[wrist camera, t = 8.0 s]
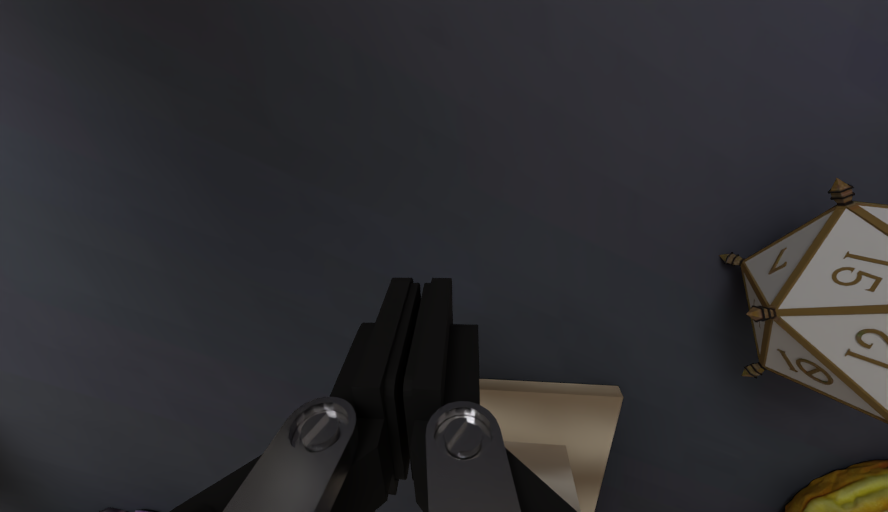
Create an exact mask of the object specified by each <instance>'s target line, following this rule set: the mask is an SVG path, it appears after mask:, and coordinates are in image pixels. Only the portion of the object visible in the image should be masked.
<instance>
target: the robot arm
mask: <svg viewBox="0 0 888 512" xmlns="http://www.w3.org/2000/svg"><path fill="white" fill-rule="evenodd" d="M409 462H411V471H412V479H413V480H414V487H415V495H416V502H417V504H418V505H419V506H420V508H421V509H422V510H423V512H577V511H576V510H575V509H574V508H573V507H571V506H570V505H569V504H568V503H567V502H566V501H565V500H564V499H563V498H561V497H560V496H559V495H558V494H557V493H556V492H555V491H554V490H552V489H551V488H550V487H549V486H548V485H547V484H546V483H545V482H543V481H542V480H541V479H540V478H539V477H538V476H537V475H536V474H535V473H533V472H532V471H531V470H530V469H529V468H528V467H527V466H526V465H524V464H523V463H522V462H521V461H520V460H519V459H518V458H517V457H515V456H514V455H513V454H512V453H511V452H510V451H509V450H508V449H507V448H505V445H504V441H503V437H502V433H501V429H500V427H499V424H498V422H497V420H496V418H495V417H494V416H493V415H492V413H491V412H490V411H489V410H487V409H486V408H484V407H483V406H481V405H480V385H479V347H478V325H463V324H453V314H452V279H451V278H432V282H431V283H425V284H424V288H423V293H422V298H421V293H420V284H419V283H413V279H412V278H392V280H391V283H390V285H389V288H388V291H387V293H386V296H385V299H384V301H383V304H382V307H381V309H380V312H379V315H378V317H377V320H376V323H362V324H361V326H360V327H359V329H358V332H357V334H356V336H355V339H354V341H353V343H352V346H351V348H350V350H349V353H348V355H347V357H346V360H345V362H344V364H343V367H342V369H341V371H340V374H339V376H338V378H337V381H336V383H335V385H334V388H333V390H332V392H331V395H330V397H322V398H317V399H314V400H312V401H309V402H307V403H305V404H303V405H302V406H301V407H299V408H298V409H296V410H295V411H294V412H293V413H292V414H291V415H290V417H289V418H288V419H287V420H286V421H285V423H284V424H283V426H282V427H281V429H280V430H279V431H278V433H277V434H276V436H275V437H274V439H273V440H272V442H271V443H270V444H269V446H268V447H267V449H266V450H265V452H264V453H263V454H262V455H261V456H259V457H257V458H256V459H254V460H252V461H251V462H249V463H248V464H246V465H244V466H243V467H241V468H239V469H238V470H236V471H234V472H233V473H231V474H230V475H228V476H226V477H225V478H223V479H221V480H220V481H218V482H217V483H215V484H213V485H212V486H210V487H208V488H207V489H205V490H204V491H202V492H200V493H199V494H197V495H195V496H194V497H192V498H190V499H189V500H187V501H186V502H184V503H182V504H181V505H179V506H177V507H176V508H174V509H173V510H171V511H170V512H375V510H376V509H378V508H379V507H380V506H381V505H382V504H383V503H385V502H386V501H387V498H388V494H392V495H396V492H397V487H398V481H399V479H402V480H406V478H407V474H408V468H409Z"/></svg>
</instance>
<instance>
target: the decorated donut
mask: <svg viewBox="0 0 888 512" xmlns="http://www.w3.org/2000/svg"><path fill="white" fill-rule="evenodd" d="M785 512H888V460H873V461H867V462H863V463H859V464H855V465H852V466H849V467H848V468H846V469H843V470H836V471H834V472H831V473H829V474H826V475H824V476H823V477H819V478H817V479H815V480H813V481H811V482H810V484H809V485H808V486H807V487H806V488H803V489H802V490H801V491H799V492H798V493H797V494H796V495H795V496H794V498H793V500H792V501H790V502H789V503H788V504H787V505H786V506H785Z"/></svg>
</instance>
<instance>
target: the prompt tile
mask: <svg viewBox="0 0 888 512" xmlns="http://www.w3.org/2000/svg"><path fill="white" fill-rule="evenodd" d="M479 385H480V405H481V406H483V407H484V408H486V409H487V410H489V411H490V412H491V413H492V415H493V416H494V417H495V418H496V420H497V422H498V424H499V427H500V429H501V433H502V437H503V441H504V445H505V448H507V449H508V450H509V451H510V452H511V453H512V454H513V455H514V456H515V457H517V458H518V459H519V460H520V461H521V462H522V463H523V464H524V465H526V466H527V467H528V468H529V469H530V470H531V471H532V472H533V473H535V474H536V475H537V476H538V477H539V478H540V479H541V480H542V481H543V482H545V483H546V484H547V485H548V486H549V487H550V488H551V489H552V490H554V491H555V492H556V493H557V494H558V495H559V496H560V497H561V498H563V499H564V500H565V501H566V502H567V503H568V504H569V505H570V506H571V507H573V508H574V509H575V510H576V511H577V512H594V511H595V507H596V503H597V499H598V495H599V491H600V487H601V483H602V479H603V476H604V472H605V468H606V464H607V460H608V456H609V452H610V448H611V444H612V440H613V436H614V432H615V428H616V424H617V420H618V416H619V412H620V408H621V404H622V400H623V396H622V393H621V391H620V389H619V387H618V386H609V385H590V384H571V383H552V382H532V381H513V380H494V379H479Z"/></svg>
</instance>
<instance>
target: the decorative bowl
mask: <svg viewBox="0 0 888 512" xmlns="http://www.w3.org/2000/svg"><path fill="white" fill-rule="evenodd" d="M99 512H128V511H123V510H119V509H115V508H107V509H104V510H102V511H99ZM135 512H152V511H146V510H136V511H135Z"/></svg>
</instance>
